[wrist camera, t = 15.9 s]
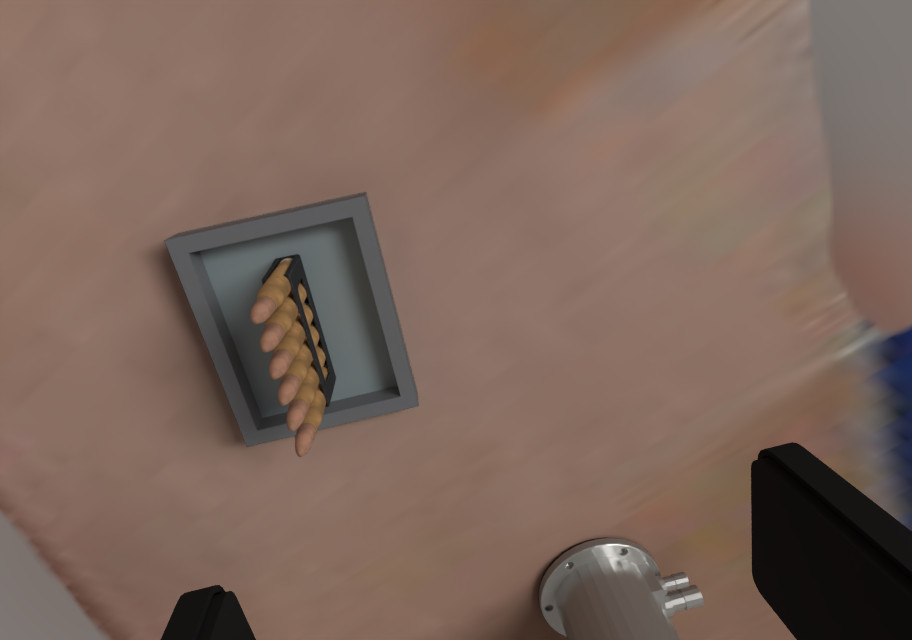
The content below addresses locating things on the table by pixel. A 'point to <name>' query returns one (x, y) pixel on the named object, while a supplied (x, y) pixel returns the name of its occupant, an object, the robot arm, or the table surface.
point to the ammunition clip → (295, 347)
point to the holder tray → (336, 301)
